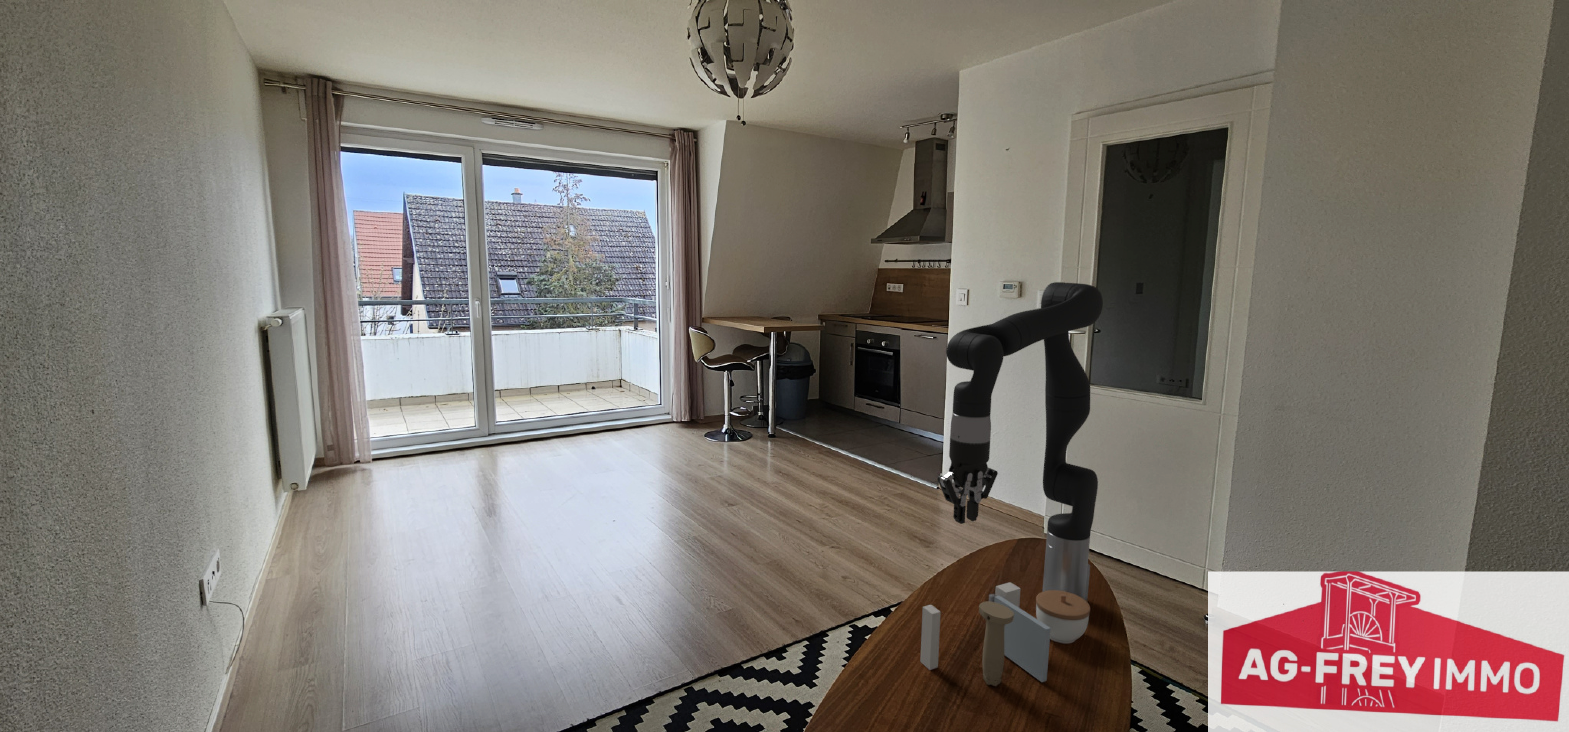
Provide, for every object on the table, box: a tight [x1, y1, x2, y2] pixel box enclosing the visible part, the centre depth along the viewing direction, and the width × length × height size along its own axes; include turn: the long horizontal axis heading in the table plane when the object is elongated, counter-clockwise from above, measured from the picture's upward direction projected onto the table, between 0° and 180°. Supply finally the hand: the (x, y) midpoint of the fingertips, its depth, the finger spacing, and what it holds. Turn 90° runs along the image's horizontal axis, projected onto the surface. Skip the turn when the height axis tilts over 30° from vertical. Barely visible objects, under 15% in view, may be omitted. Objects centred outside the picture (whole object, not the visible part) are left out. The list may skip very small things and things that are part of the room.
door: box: [988, 593, 1051, 683], centre depth 135 cm, size 15×2×11 cm, turn 26°
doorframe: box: [919, 581, 1021, 671], centre depth 139 cm, size 23×3×12 cm, turn 116°
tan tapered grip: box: [978, 600, 1014, 687], centre depth 129 cm, size 5×6×15 cm
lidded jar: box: [1035, 590, 1091, 644], centre depth 145 cm, size 11×11×9 cm
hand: (965, 520), depth 133 cm, fingers open, 2 cm apart
